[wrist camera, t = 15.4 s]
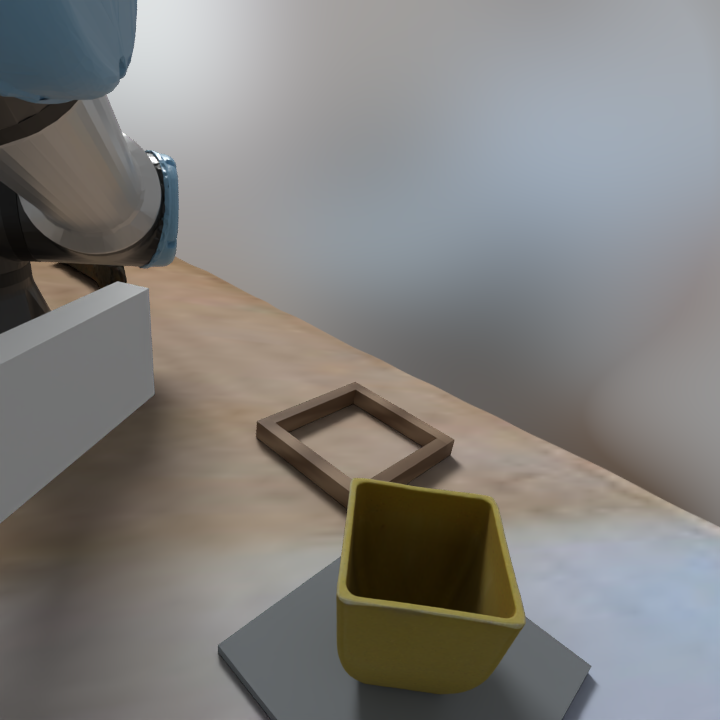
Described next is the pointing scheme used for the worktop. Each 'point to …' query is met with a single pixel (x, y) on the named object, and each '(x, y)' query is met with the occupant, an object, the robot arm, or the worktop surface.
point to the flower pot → (424, 588)
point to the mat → (377, 703)
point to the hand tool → (102, 273)
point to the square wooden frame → (431, 439)
